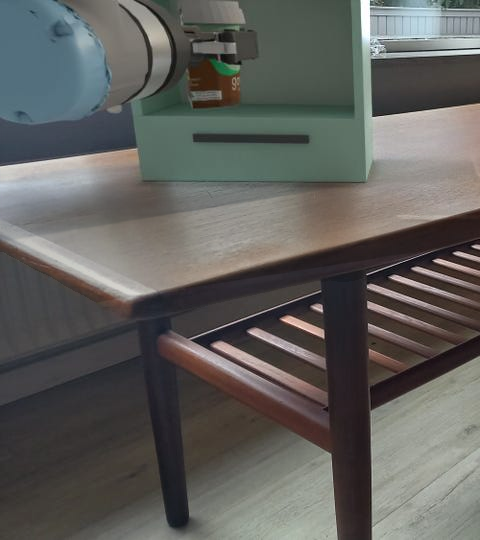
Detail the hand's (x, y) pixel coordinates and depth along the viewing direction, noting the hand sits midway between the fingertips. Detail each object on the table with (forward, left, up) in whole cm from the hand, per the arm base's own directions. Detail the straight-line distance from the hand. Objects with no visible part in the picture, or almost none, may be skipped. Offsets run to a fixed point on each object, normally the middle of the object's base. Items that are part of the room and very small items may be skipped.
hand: (210, 40), depth 73 cm
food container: (+2, -3, -6) cm, 7 cm away
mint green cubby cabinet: (-2, +17, -17) cm, 25 cm away
